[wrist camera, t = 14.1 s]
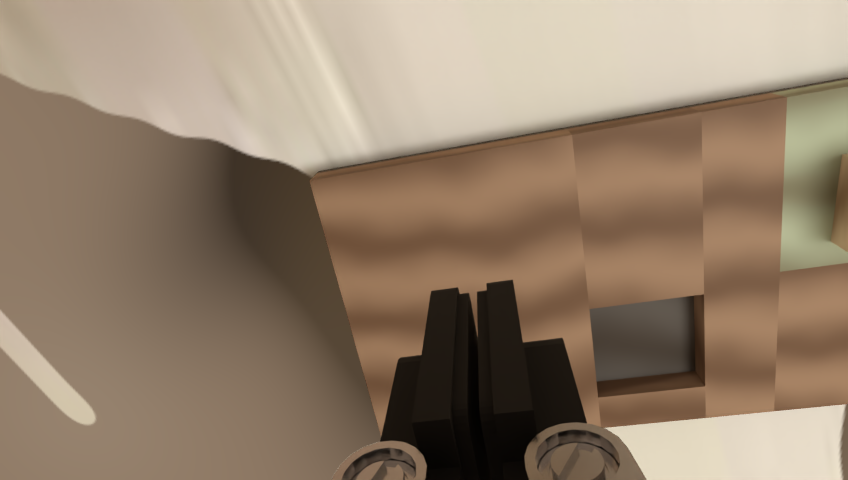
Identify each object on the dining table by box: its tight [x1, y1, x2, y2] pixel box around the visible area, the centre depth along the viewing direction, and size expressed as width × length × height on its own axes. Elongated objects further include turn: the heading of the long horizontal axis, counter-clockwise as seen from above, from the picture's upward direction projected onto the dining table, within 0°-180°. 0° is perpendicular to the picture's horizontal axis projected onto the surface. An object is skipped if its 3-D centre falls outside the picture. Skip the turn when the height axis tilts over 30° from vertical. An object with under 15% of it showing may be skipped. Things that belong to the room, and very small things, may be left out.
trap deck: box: [310, 78, 848, 436], centre depth 40 cm, size 24×52×2 cm, turn 101°
